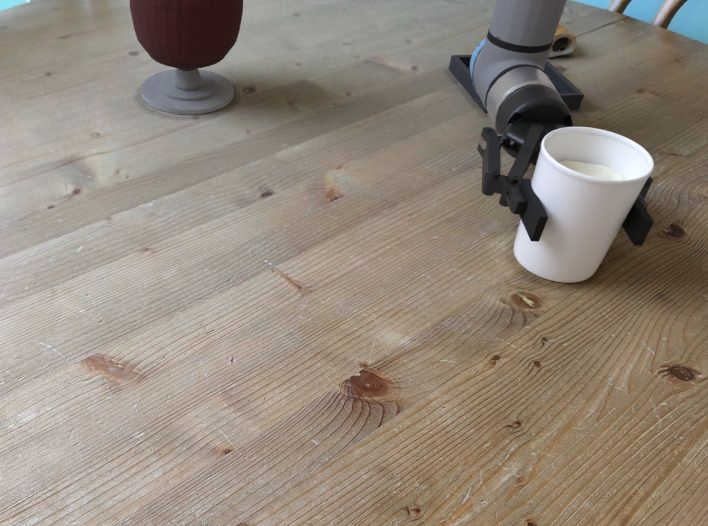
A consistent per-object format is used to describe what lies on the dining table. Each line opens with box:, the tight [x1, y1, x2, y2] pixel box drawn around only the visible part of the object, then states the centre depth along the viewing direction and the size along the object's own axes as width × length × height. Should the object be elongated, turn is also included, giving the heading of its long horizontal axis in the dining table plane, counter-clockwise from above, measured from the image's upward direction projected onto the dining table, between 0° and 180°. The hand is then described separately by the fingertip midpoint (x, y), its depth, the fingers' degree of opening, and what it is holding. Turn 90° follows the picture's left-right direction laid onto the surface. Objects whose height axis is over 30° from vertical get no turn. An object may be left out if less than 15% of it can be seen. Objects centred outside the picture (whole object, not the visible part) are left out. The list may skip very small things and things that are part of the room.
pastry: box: [547, 23, 578, 59], centre depth 115 cm, size 9×7×4 cm
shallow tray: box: [448, 54, 585, 113], centre depth 104 cm, size 14×14×2 cm
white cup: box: [513, 126, 655, 284], centre depth 72 cm, size 10×10×12 cm
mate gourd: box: [128, 0, 244, 116], centre depth 92 cm, size 16×14×20 cm
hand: (591, 231), depth 69 cm, fingers closed on white cup, 9 cm apart
